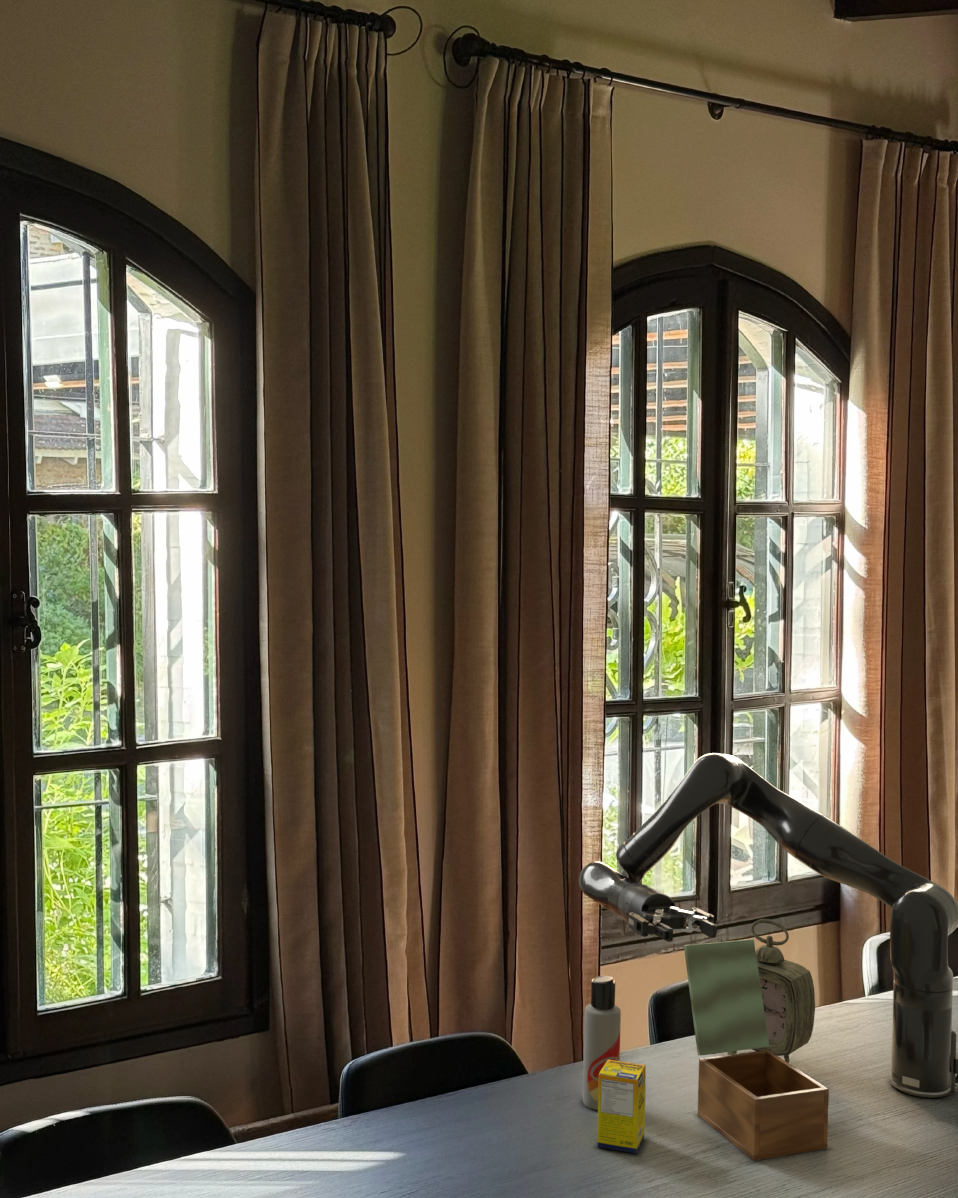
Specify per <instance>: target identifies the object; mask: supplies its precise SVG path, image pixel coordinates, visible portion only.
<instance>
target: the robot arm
mask: <svg viewBox="0 0 958 1198" xmlns="http://www.w3.org/2000/svg"><path fill="white" fill-rule="evenodd" d="M717 804H719V805H720V804H721V805H722V804H724V805H726V806H728V807H730V808H733V809H734V810H736V811H739V812H740V813H742V814H743V815H745V816H747V817H749V818H750V819H752V820H754V821H755V822H756V823H758V824H759V825H760V826H761V827H762V828H763V829H764V830H765V831H766V832H767V833H768V834H769V835H770V836H771V837H772V838H773V840H774V841H775V842H776V843H777V844H778V845H779V846H780V847H781V848H782V849H783V850H784V851H785V852H787V853H788V854H789V855H790V856H792V857H793V858H794V859H796V860H797V861H799V862H800V863H801V864H804V865H805V866H806V867H808V868H809V869H810V870H812V871H814V872H815V873H817V874H819V875H821V876H823V877H825V878H827V879H829V880H831V881H834V882H836V883H839V884H842V885H844V886H847V887H851V888H853V889H856V890H858V891H861V892H864V893H866V894H868V895H870V896H872V897H873V898H875V899H877V900H878V901H880V902H882V903H883V904H884V905H886V906H887V907H888V908H890V918H889V956H890V958H889V959H890V964H891V967H892V970H893V985H892V987H893V988H892V989H893V992H892V994H893V995H892V1027H891V1028H892V1030H891V1033H892V1034H891V1068H890V1069H891V1070H890V1072H891V1073H890V1076H889V1077H890V1079H889V1080H890V1081H889V1082H890V1084H891V1086H892V1087H893V1088H895V1089H896V1090H898V1091H900V1092H902V1093H905V1094H907V1095H910V1096H914V1097H919V1098H927V1099H928V1098H929V1099H935V1098H936V1099H937V1098H944V1097H947V1096H948V1095H950V1094H951V1092H952V1091H956V1085H957V1084H958V1052H957V1033H956V1031H954V1030H953V998H954V997H953V995H954V994H953V993H954V973H953V970H952V968H950V967H949V963H948V962H949V959H948V957H949V956H948V955H949V954H948V951H949V949H948V948H949V947H948V945H949V943H948V942H949V936H950V935H951V934H953V932H954V931H955V930H956V929H957V928H958V902H957V900H956V899H955V897H954V896H953V894H951V892H950V891H948V890H947V889H946V888H944V887H943V886H941V885H940V884H939V883H936V882H934V881H932V880H931V879H928V878H926V877H924V876H923V875H920V874H918V873H916V872H915V871H912V870H910V869H908V868H907V867H904V866H903V865H901V864H899V863H898V862H896V861H894V860H893V859H891V858H889V857H888V856H886V855H884V854H883V853H882V852H880V851H879V850H877V849H876V848H875V847H873V846H872V845H870V844H868V843H867V842H866V841H864V840H863V839H861V838H860V837H858V836H856V835H855V834H853V833H852V832H850V831H849V830H848V829H846V828H845V827H844V826H842V825H840V824H839V823H837V822H836V821H834V820H833V819H831V818H829V817H828V816H827V815H824V814H823V813H822V812H820V811H818V810H816V809H815V808H813V807H811V806H809V805H808V804H806V803H805V802H802V801H801V800H799V799H797V798H795V797H793V796H791V795H789V794H788V793H785V792H784V791H782V790H780V789H779V788H777V787H775V786H774V785H773V784H771V783H770V782H769V781H768V780H766V779H765V778H764V777H762V776H761V775H760V774H759V773H758V772H756V771H755V770H754V769H752V768H751V767H750V766H749V765H748V764H747V763H745V762H744V761H743V760H742V759H740V758H739V757H736V756H734V755H731V754H728V753H719V752H712V753H711V752H710V753H706V754H704V755H702V756H700V757H699V758H698V759H696V761H695V762H694V763H693V764H692V766H691V767H690V768H689V770H688V771H687V772H686V774H685V775H684V777H683V778H682V779H681V780H680V782H679V783H678V785H677V786H676V787H675V789H674V790H673V791H672V792H671V794H670V795H668V797H667V798H666V800H665V801H663V803H662V804H661V805H660V806H659V808H657V810H656V811H655V812H654V813H653V814H652V815H651V816H650V817H648V819H647V820H646V821H645V822H644V823H643V824H642V825H641V826H640V827H638V829H636V830H635V831H633V833H632V834H631V835H630V836H629V837H628V838H627V839H626V840H625V841H623V843H622V844H621V845H620V846H619V847H618V848H617V850H616V853H615V858H616V860H617V863H618V864H619V866H620V867H621V869H623V870H624V871H622V873H620V872H618V871H617V870H616V869H614V868H613V867H611V866H610V865H608V864H607V863H604V862H602V861H592V862H590V863H588V864H586V865H585V866H584V867H583V868H582V869H581V871H580V873H579V876H578V885H579V888H580V891H581V892H582V893H583V894H584V895H585V896H586V897H588V898H590V899H591V900H593V901H594V902H596V903H597V904H599V905H600V906H602V907H603V908H605V909H606V910H608V911H612V912H614V913H615V914H616V915H617V916H620V918H623V919H624V920H626V921H627V923H628V928H629V930H632V931H633V932H635V933H637V934H638V935H640V936H641V937H643V938H646V937H649V935H650V936H652V937H654V938H657V937H659V938H660V939H662V940H664V941H666V942H667V943H672V942H673V941H674V932H677V931H679V932H683V933H688V934H691V933H693V932H698V933H701V934H703V935H705V936H707V937H708V938H710V939H714V938H716V937H717V933H718V926H717V925H716V924H715V923H714V922H715V916H714V915H713V914H712V913H708V912H707V911H705V910H702V909H700V908H698V907H691V910H685V909H681V908H680V907H677V906H676V904H675V902H674V900H673V899H672V898H671V896H669V895H667V894H665V893H663V892H661V891H660V890H657V889H656V888H653V887H652V886H649V885H647V884H643V883H641V882H642V881H643V879H644V878H645V876H646V874H647V873H649V871H651V869H653V867H654V866H656V865H657V864H658V863H659V862H660V861H661V860H662V859H664V857H665V856H666V855H667V854H668V853H669V851H671V849H672V848H673V847H674V845H675V844H676V843H677V841H678V839H679V838H680V836H681V835H682V834H683V832H684V831H685V829H686V828H687V827H689V825H690V824H691V823H692V822H693V821H694V820H695V819H696V818H697V817H698V816H700V815H701V814H702V813H704V812H706V811H707V810H708V809H709V808H711V807H712V806H714V805H717ZM686 923H687V926H686Z"/></svg>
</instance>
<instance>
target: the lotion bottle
mask: <svg viewBox="0 0 958 1198" xmlns="http://www.w3.org/2000/svg"><path fill="white" fill-rule="evenodd" d="M590 983H591V984H590V987H591V988H590V1003H588V1004H586V1006H585V1007H584V1020H583V1021H584V1023H583V1026H584V1027H583V1064H582V1065H583V1069H582V1102H583V1105H585V1106H586V1107H587V1108H588V1109H591V1110H595V1111H598V1078H599V1072H600V1071H601V1069H602V1068H603V1066H604V1065H605V1063H606V1062H607V1060H608V1059H609V1060H615V1061H621V1060H620V1059H621V1024H622V1023H621V1021H622V1020H621V1019H622V1018H621V1016H622V1013H621V1008H620V1007H619V1006H618V1005H616V980H615V979H614V977H613V976H611V975H597V976H595V977H594V978H592V979H591V981H590Z"/></svg>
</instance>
